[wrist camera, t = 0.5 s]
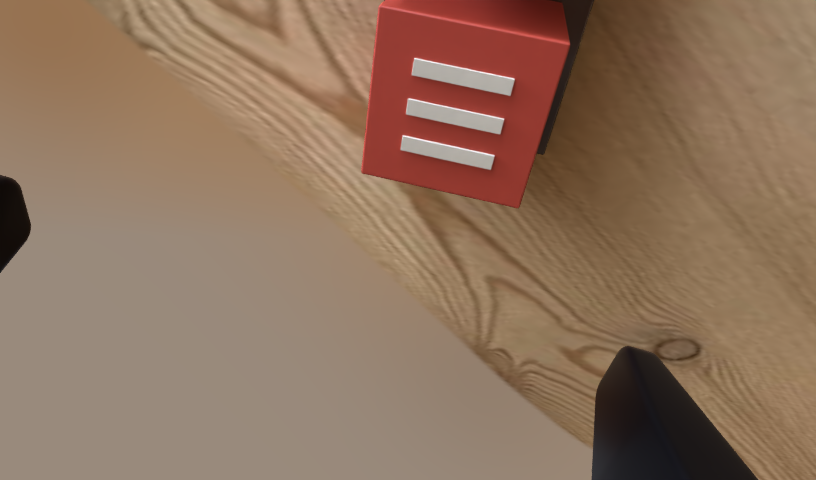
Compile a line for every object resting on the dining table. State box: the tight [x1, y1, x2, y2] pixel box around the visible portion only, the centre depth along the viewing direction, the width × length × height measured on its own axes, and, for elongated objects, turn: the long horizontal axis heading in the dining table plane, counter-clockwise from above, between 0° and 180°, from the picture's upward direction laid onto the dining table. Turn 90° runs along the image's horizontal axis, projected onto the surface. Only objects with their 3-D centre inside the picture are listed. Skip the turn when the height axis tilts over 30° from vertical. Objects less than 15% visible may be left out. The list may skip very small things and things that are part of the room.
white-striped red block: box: [361, 0, 570, 208], centre depth 15 cm, size 4×4×4 cm
